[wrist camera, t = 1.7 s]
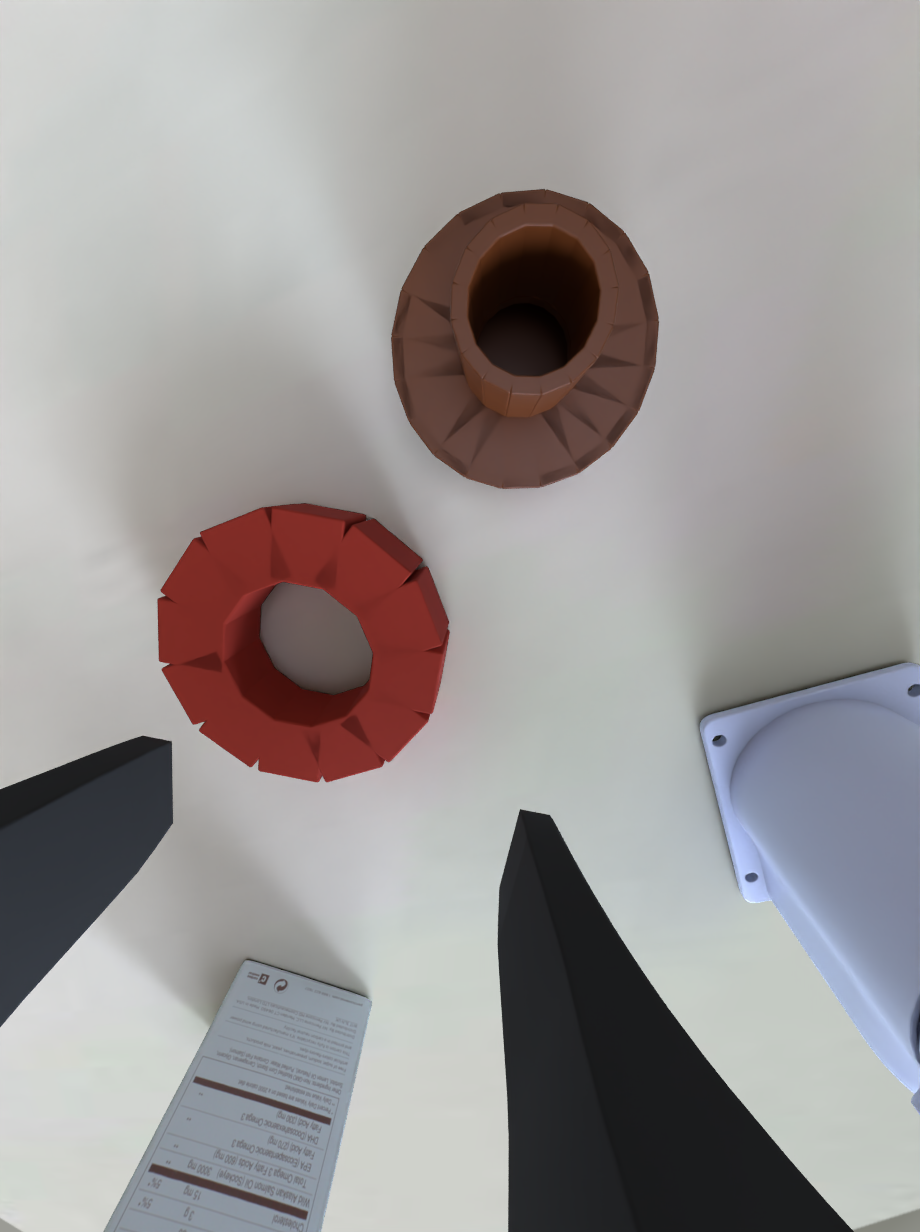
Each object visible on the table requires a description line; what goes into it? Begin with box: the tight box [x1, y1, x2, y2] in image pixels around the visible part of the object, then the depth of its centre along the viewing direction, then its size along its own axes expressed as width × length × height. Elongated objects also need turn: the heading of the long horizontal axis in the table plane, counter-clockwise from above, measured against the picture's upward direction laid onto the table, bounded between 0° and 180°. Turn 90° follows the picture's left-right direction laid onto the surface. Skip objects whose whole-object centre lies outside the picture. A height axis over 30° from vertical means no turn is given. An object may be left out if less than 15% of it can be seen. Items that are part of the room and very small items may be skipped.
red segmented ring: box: [158, 503, 450, 782], centre depth 17 cm, size 10×10×3 cm
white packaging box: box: [104, 960, 372, 1232], centre depth 19 cm, size 7×7×13 cm
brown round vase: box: [391, 189, 659, 489], centre depth 12 cm, size 7×7×7 cm
